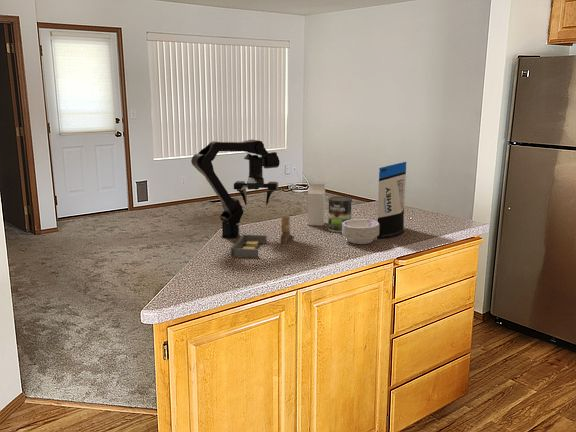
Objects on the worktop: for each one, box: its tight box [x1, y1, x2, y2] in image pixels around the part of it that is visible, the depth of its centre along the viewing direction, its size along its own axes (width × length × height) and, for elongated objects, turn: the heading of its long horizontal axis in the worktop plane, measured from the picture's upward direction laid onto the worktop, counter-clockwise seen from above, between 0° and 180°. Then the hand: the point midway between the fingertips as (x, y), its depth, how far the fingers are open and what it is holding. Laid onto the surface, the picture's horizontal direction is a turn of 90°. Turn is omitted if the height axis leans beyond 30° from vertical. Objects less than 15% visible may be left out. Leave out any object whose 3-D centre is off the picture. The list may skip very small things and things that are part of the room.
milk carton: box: [307, 182, 326, 227], centre depth 244 cm, size 7×7×19 cm
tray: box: [230, 234, 268, 258], centre depth 208 cm, size 10×20×3 cm, turn 173°
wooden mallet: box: [280, 215, 291, 245], centre depth 221 cm, size 3×14×10 cm, turn 173°
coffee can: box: [327, 195, 353, 233], centre depth 235 cm, size 10×10×14 cm
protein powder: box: [376, 161, 407, 240], centre depth 226 cm, size 10×24×30 cm, turn 142°
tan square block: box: [245, 241, 260, 249], centre depth 212 cm, size 4×4×2 cm
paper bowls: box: [341, 218, 379, 245], centre depth 217 cm, size 15×15×8 cm
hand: (256, 205), depth 230 cm, fingers open, 9 cm apart
